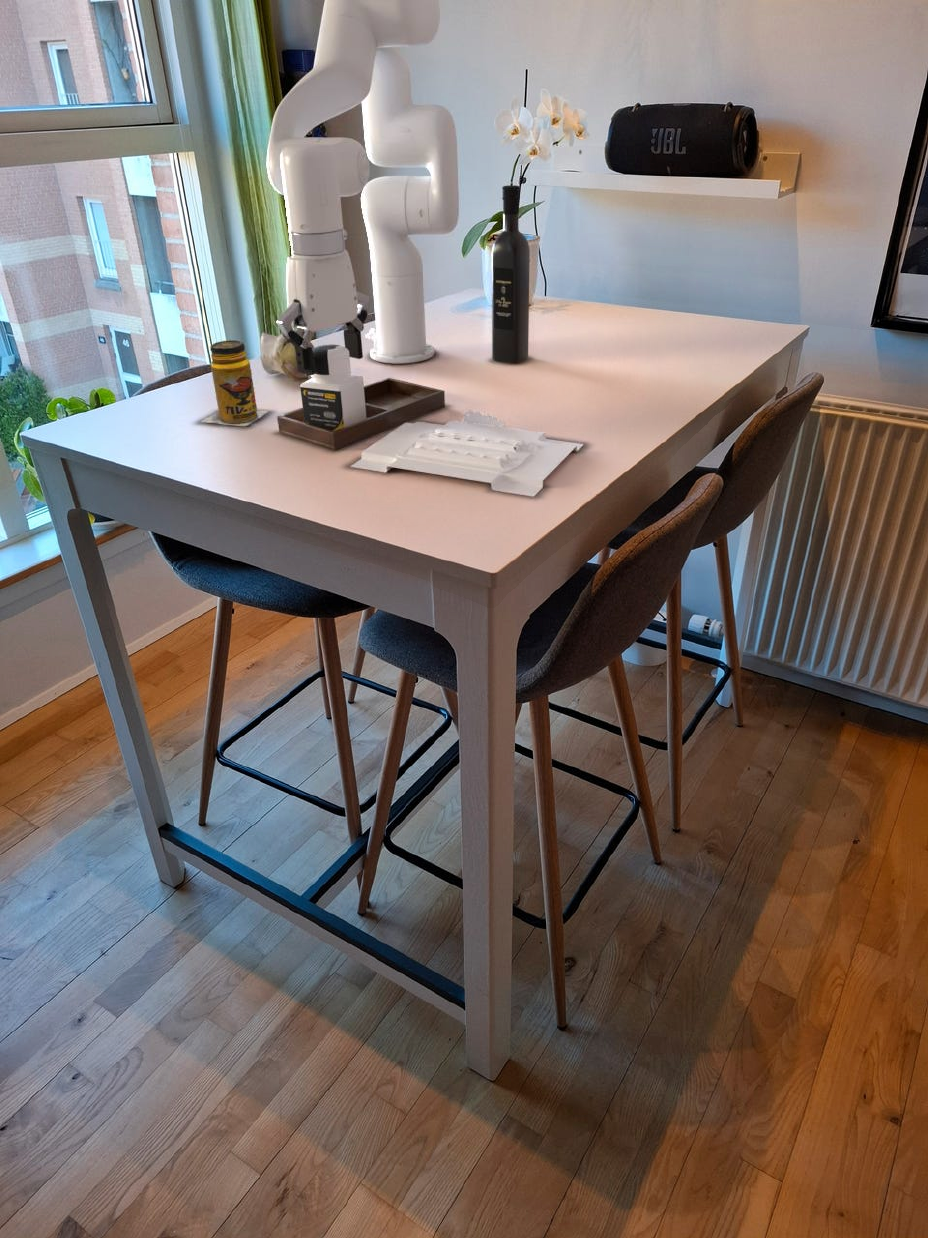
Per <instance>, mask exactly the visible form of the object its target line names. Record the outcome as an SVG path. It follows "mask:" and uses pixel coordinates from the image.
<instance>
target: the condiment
mask: <svg viewBox="0 0 928 1238" xmlns="http://www.w3.org/2000/svg"><path fill="white" fill-rule="evenodd" d="M209 351H210V352H211V355H210V357H211V363H210V369H211V375H212V381H213V386H214V393H215V398H216V404H217V407H218V408H217V409H218V410H217V411H216V412H215V413H213V414H211V415H210V416H207V417H206V418H205V419H203V420H201V421H200V423H207V424H218V425H224V426H233V427H235V426H236V427H247V426H249V425H251V424H253V423H254V422H256V421H257V420H259V419H260V418H262V417H263V416H264V415H265V414H266V413H268V412H269V411H268V410H258V407H257V406H258V405H257V401H256V400H257V399H256V393H255V387H254V382H253V376H252V375H253V373H252V368H251V362H250V360H249V359H248V358H247V351H246V346H245V344H244V342H242V341H240V340H233V339H230V340H229V339H228V340H220V341H217V342H214V343H212V344H211V345H210V350H209Z"/></svg>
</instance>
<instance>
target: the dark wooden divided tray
mask: <svg viewBox="0 0 928 1238" xmlns="http://www.w3.org/2000/svg"><path fill="white" fill-rule="evenodd" d="M364 396H365V407H366V419H365V420H362V421H359V422H357V423H354V424H351V425H349V426H346V427H343V428H341V429H338V430H336V431H331V430H327V429H324V428H321V427H317V426H314V425H311V424H307V423H305V422H304V414H303V407H301V408H300V407H299V408H297V409H294V410H291V411H288V412H285V413H283V414H279V415H277V416H276V420H277V426H278V433H279V434H281V435H284V436H288V437H291V438H294V439H297V440H300V441H303V442H307V443H310V444H312V445H313V444H314V445H316V446H319V447H322V448H325V449H329V450H332V451H337V450H340V449H342V448H345V447H348V446H351V445H352V444H355V443H358V442H360V441H363V440H365V439H367V438H371V437H373V436H375V435H377V434H380V433H383V432H385V431H388V430H390V429H392V428H395V427H397V426H398V427H399V426H401V425H403V424H405V423H409V421H412V420H415V419H417V418H420V417H423V416H425V415H427V414H430V413H433V412H435V411H437V410H440V409H442V408H445V407H446V396H445V390H442V389H438V388H435V387H430V386H426V385H422V384H417V383H414V382H409V381H405V380H401V379H396V378H392V377H387V378H383V379H381V380H378V381H375V382H373V383H370V384H366V385H364Z"/></svg>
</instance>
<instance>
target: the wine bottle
mask: <svg viewBox="0 0 928 1238" xmlns="http://www.w3.org/2000/svg"><path fill="white" fill-rule="evenodd" d="M520 189H521V187H520V186H519V185H511V184H509V185H504V186H502V187H501V190H502V198H501V199H502V231H501V232H500V233H499V234H498V236H497V237H496V238H495V240H494V241H493V244H492V248H491V342H492V344H491V353H492V354H491V357H492V358H491V359H492V360H493V361H494V362H498V363H505V364H518V363H520V362H522V361H524V360H526V359H528V357H529V334H530V333H529V332H530V331H529V330H530V329H529V325H530V263H531V262H530V261H531V259H530V258H531V249H530V245H529V241H528V239H527V237H526V236H525V235H524V234H523V233H522V232H521V231H520V229H519V225H520V224H519V221H520V220H519V217H520V216H519V215H520V214H519V213H520V212H519V211H520V210H519V208H520V207H519V205H520V204H519V203H520V202H519V201H520Z"/></svg>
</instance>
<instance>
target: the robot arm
mask: <svg viewBox="0 0 928 1238" xmlns="http://www.w3.org/2000/svg"><path fill="white" fill-rule="evenodd" d="M440 7H441V6H440V0H324V3H323V8H322V14H321V20H320V25H319V32H318V37H317V44H316V50H315V56H314V62H313V68H312V69H311V70H310V71H309V72H307V73H306V74H305V75H304V76H303V77H302V78H300V79H299V81H298V82H296V84H295V85H294V86H293V87H292V88H291V89H290V90H289V92H288V93H287V94H286V95H285V96H284V97H283V98H282V100H281V101H280V103H279V105H278V106H277V108H276V110H275V112H274V115H273V118H272V122H271V128H270V132H269V133H270V134H269V139H268V146H267V154H266V169H267V175H268V179H269V181H270V184H271V186H272V187H273V189H274V190H275V191H277V193H278V194H280V195H282V196H284V200H285V208H286V217H287V224H288V225H287V226H288V233H289V241H290V246H291V247H290V248H291V256H288V257H287V263H286V283H285V284H286V300H287V308H286V310H284V312H283V313H282V314H281V315H280V316H279V317H278V318H277V319H276V325H277V327H278V329H279V330H280V332H281V334H282V333H283V336H284V338H285V339H287V340H288V341H289V342H290V344H291V345H292V346H295V353H296V361H297V366H298V371H299V372H300V373H304V374H308V375H309V376H311V375H314V374H315V364H314V356H313V349H312V347H308V346H309V344H310V342H312V339H313V337H314V334H315V333H317V332H321V331H324V330H329V329H331V328H336V327H338V326H342V325H344V327H345V328H346V329H343V340H344V341H343V342H344V347H345V348H347V349H348V350H349V357H350V358H353V359H355V360H356V359H357V360H361V359H363V358H364V353H363V344H362V343H363V342H362V332H363V331H364V329H365V326H364V325H365V322H366V320H367V318H368V315H369V314H368V310H369V307H370V303H371V298H370V296H368V295H367V294H364V293H361V292H359V291H357V286H356V280H355V279H356V278H355V274H354V268H353V265H352V262H351V257H350V255H349V251H348V250H347V249H346V242H345V241H346V240H347V239H348V237H349V236H348V232H347V230H345V229H344V221H343V211H342V210H343V209H342V199H341V198H343V197H344V198H346V197H347V198H348V197H349V198H350V197H354V196H356V195H358V194H359V193H361V197H360V202H361V203H360V204H361V209H362V215H363V219H364V225H365V228H366V233H367V238H368V244H369V250H370V251H369V254H370V263H371V264H370V265H371V274H372V275H371V276H372V289H373V290H372V291H373V303H374V304H373V305H374V315H375V327H371V328H370V329H369V332H367V333H366V334H365V339H366V340H368V341H373V347H372V348H371V349H370V350H369V355H370V358H371V359H372V360H374V361H376V362H380V363H385V364H397V365H398V364H413V363H418V362H424V361H427V360H429V359H431V358H432V357H434V355H435V347H434V346H433V345H431V344H429V343H427V335H426V334H427V332H426V311H425V292H424V291H425V290H424V267H423V259H422V256H421V253H420V251H419V250H418V248H417V246H416V245H415V244H414V242H413V241H412V240H411V238H410V237H409V236H413V235H446V234H450V233H452V232H453V231H454V230H455V229H456V228H457V225H458V222H459V216H460V196H459V195H460V194H459V193H460V192H459V191H460V189H459V165H458V163H459V162H458V161H459V160H458V140H457V139H458V138H457V129H456V123H455V120H454V118H453V115H452V113H451V111H450V110H449V108H447V107H445V106H442V105H439V104H414V103H413V99H412V87H411V86H412V84H411V72H410V69H409V66H408V64H407V61H406V60H405V59H404V57H403V55H402V54H401V53H400V51H399V50H398V49H397V48H400V47H401V48H403V47H420V46H424V45H428V44H430V43H431V42H432V41H433V40H434V39H435V37H436V36H437V33H438V31H439V26H440V20H441V8H440ZM360 104H361V109H362V121H363V131H364V133H363V134H364V142H365V148H364V146H363V145H362V144H361V143H360V142H359V141H357V140H355V139H353V138H351V137H342V136H341V137H339V136H338V137H321V136H320V137H319V136H318V137H316V136H315V137H313V136H311V137H306V136H307V134H308V133H310V132H311V131H312V130H313V129H314V128H316V127H317V126H319V125H320V124H322V123H324V122H326V121H328V120H329V121H330V120H331V119H333V118H335V117H337V116H340V115H342V114H343V113H345V112H348V111H350V110H352V109H354V108H355V107H356V106H358V105H360ZM370 162H371V163H372V164H373V165H375V166H376V167H380V168H394V169H395V168H400V169H401V168H403V169H404V168H409V169H410V168H424V169H427V170H428V171H429V173H430V175H386V176H379V177H375V178H373V179H371V180H370V181H369V178H370V174H371V173H370V172H371V165H370ZM293 328H294V329H293Z"/></svg>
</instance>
